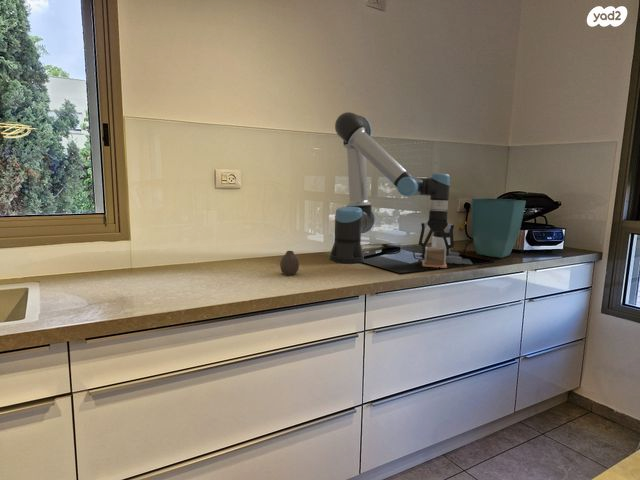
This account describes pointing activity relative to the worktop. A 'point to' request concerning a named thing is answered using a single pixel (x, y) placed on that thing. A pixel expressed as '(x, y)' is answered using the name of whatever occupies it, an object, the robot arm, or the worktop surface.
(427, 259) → the block
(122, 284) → the worktop surface
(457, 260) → the channel
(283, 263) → the vase
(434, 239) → the jar
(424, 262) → the block
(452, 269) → the worktop surface
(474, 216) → the flower pot
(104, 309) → the worktop surface
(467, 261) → the trap mat
